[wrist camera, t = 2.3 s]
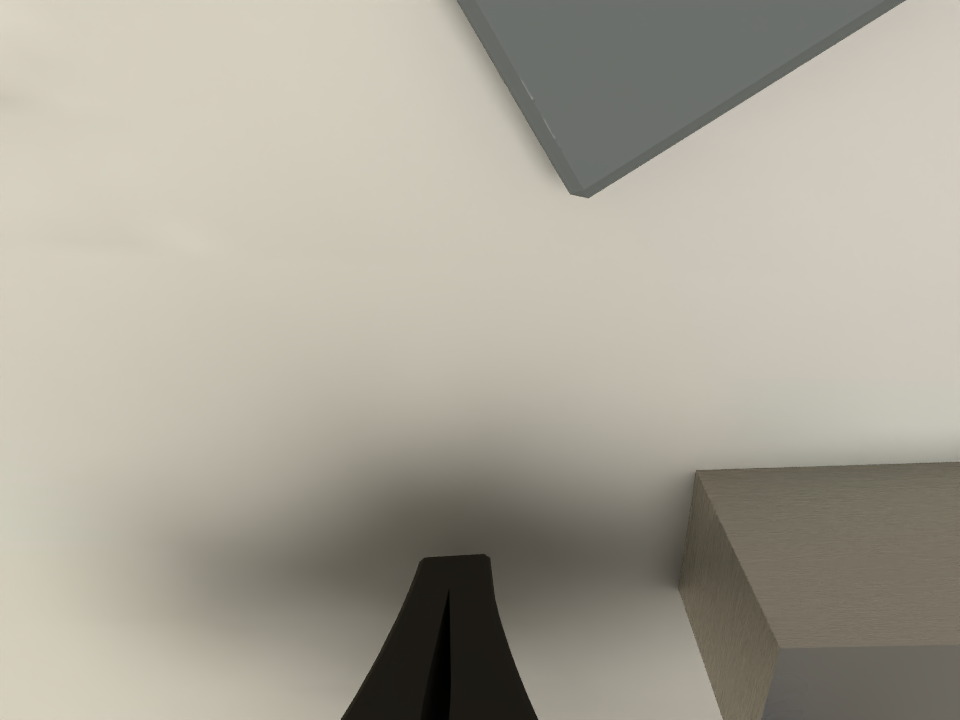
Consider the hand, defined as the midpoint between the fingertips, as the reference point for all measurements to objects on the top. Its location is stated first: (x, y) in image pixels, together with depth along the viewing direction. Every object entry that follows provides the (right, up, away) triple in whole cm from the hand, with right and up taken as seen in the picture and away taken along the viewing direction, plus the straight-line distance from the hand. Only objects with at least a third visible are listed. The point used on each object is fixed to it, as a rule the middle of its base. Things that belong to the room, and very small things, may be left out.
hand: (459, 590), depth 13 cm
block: (+9, +1, +1) cm, 9 cm away
